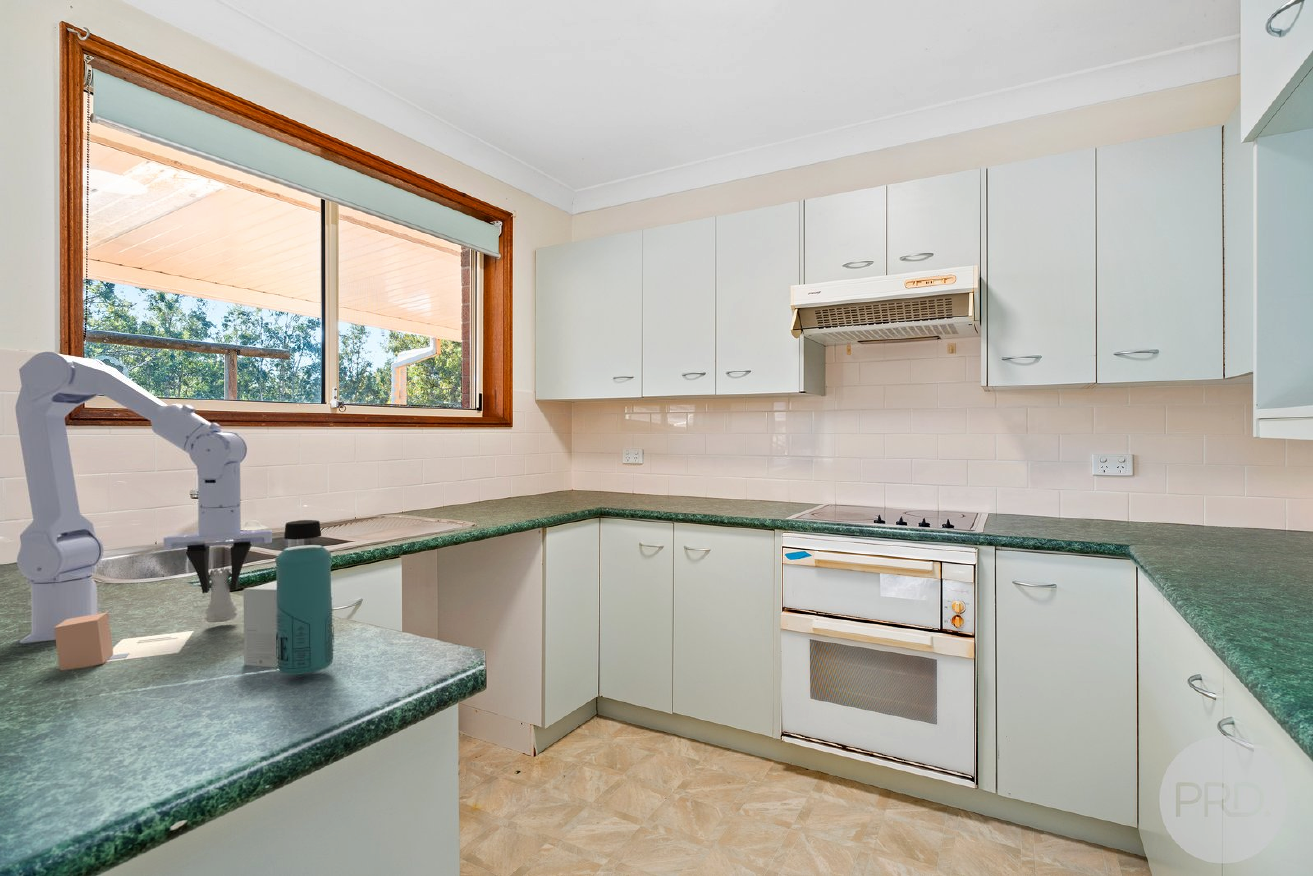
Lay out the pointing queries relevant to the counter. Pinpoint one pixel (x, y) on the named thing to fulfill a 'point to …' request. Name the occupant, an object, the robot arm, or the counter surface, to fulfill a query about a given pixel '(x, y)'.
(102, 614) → the block
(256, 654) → the small box
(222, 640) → the counter surface
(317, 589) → the beverage bottle
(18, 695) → the counter surface
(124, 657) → the letter
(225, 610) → the rook chess piece
